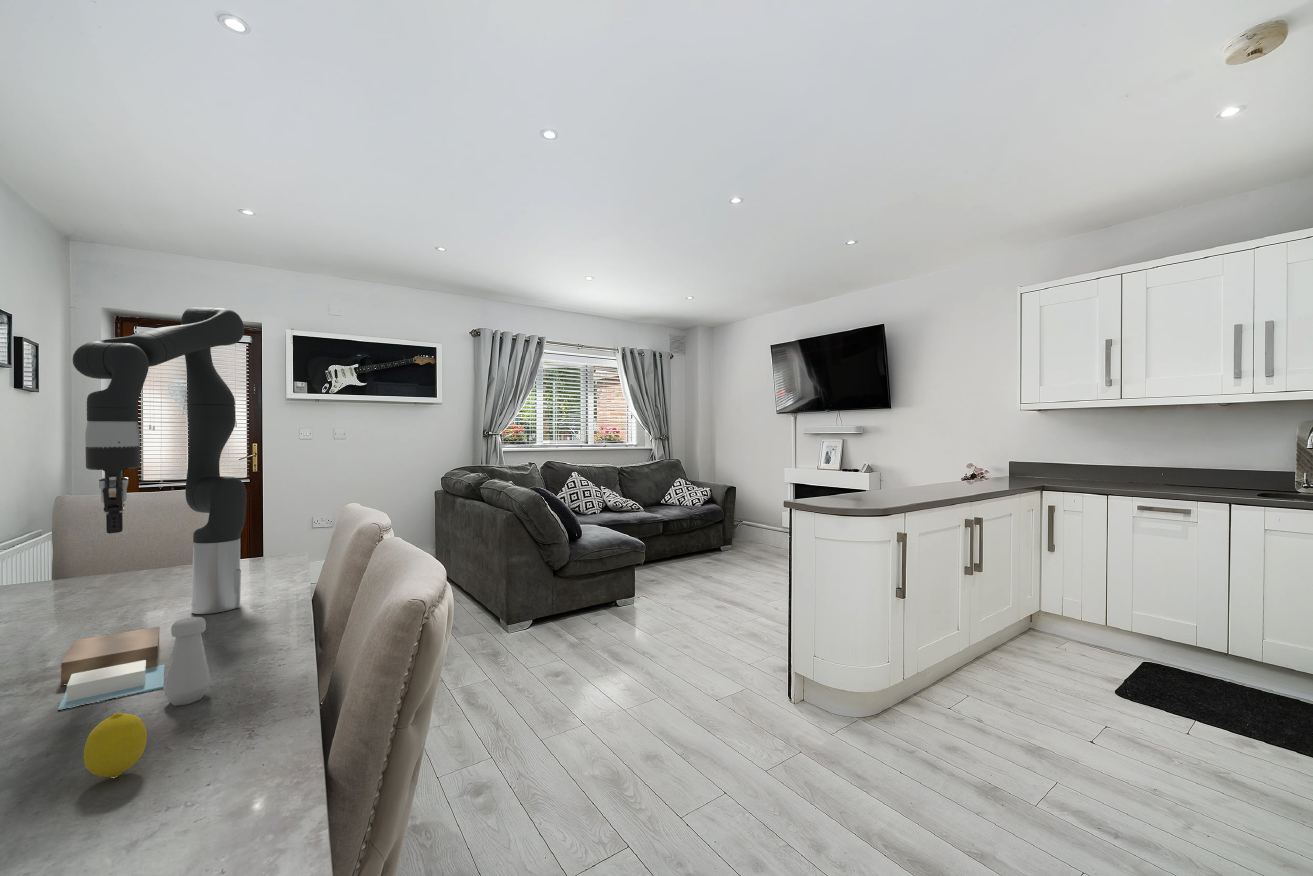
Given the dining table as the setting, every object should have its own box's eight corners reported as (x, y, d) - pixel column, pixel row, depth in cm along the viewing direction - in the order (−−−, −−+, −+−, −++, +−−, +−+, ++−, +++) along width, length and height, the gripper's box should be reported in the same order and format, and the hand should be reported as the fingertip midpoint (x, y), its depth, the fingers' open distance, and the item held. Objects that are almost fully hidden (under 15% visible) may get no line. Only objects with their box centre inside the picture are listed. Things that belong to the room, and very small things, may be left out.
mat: (164, 666, 99) (164, 664, 99) (163, 688, 91) (163, 686, 91) (69, 685, 91) (69, 683, 91) (57, 711, 83) (57, 709, 83)
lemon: (111, 765, 69) (113, 703, 69) (157, 763, 69) (159, 701, 69) (68, 793, 63) (70, 725, 63) (118, 791, 64) (120, 723, 64)
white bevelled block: (144, 670, 91) (144, 685, 91) (146, 659, 95) (145, 673, 95) (66, 686, 85) (66, 702, 85) (71, 674, 89) (71, 689, 89)
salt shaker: (219, 694, 88) (220, 616, 89) (178, 711, 83) (180, 627, 83) (195, 689, 90) (197, 612, 90) (154, 704, 85) (156, 622, 85)
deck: (159, 646, 109) (159, 626, 109) (157, 667, 99) (157, 645, 99) (72, 661, 101) (73, 640, 101) (60, 686, 91) (61, 663, 91)
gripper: (139, 445, 103) (140, 534, 103) (140, 443, 112) (141, 525, 113) (82, 446, 97) (83, 540, 98) (88, 444, 107) (89, 530, 107)
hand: (114, 532), depth 105 cm, fingers closed
